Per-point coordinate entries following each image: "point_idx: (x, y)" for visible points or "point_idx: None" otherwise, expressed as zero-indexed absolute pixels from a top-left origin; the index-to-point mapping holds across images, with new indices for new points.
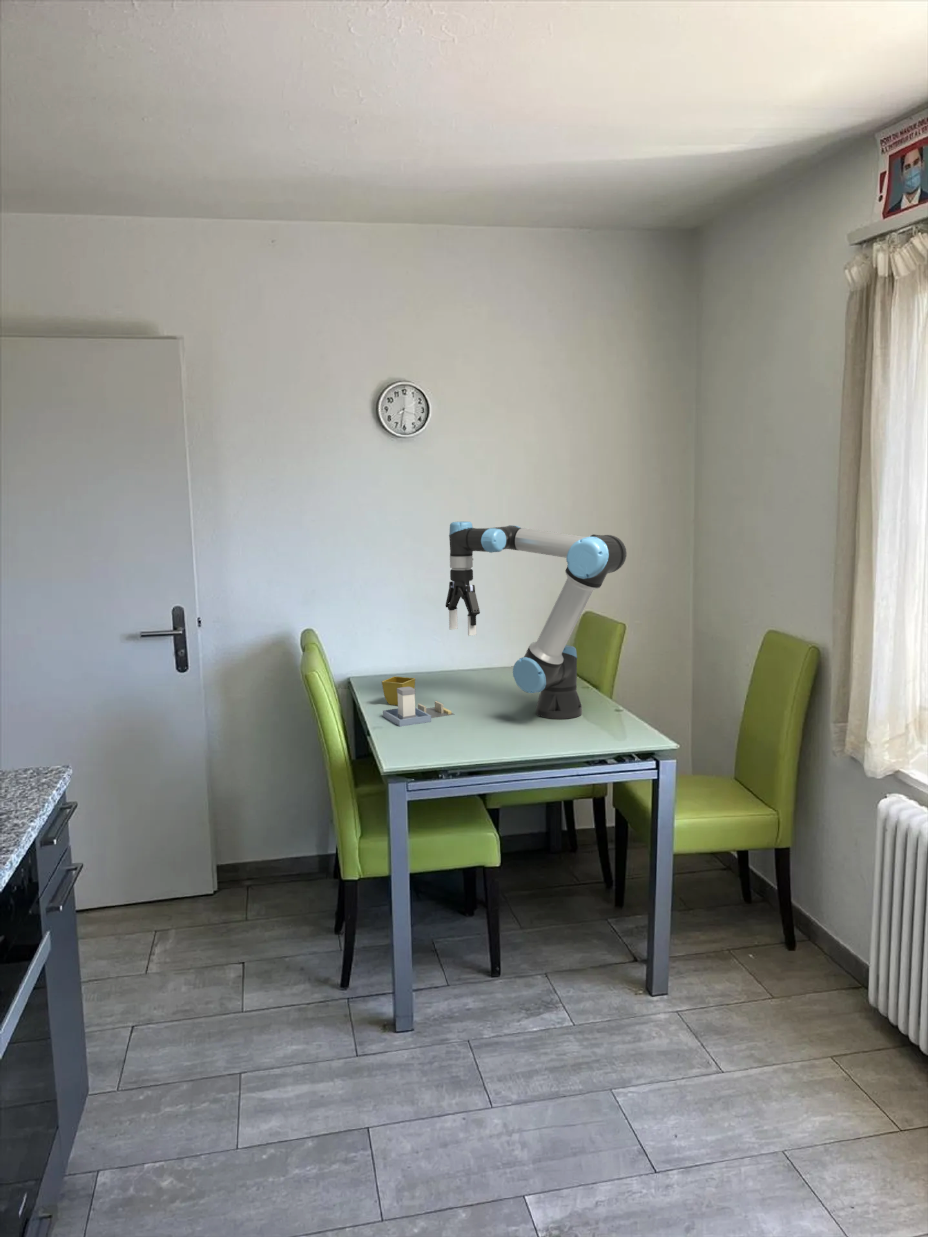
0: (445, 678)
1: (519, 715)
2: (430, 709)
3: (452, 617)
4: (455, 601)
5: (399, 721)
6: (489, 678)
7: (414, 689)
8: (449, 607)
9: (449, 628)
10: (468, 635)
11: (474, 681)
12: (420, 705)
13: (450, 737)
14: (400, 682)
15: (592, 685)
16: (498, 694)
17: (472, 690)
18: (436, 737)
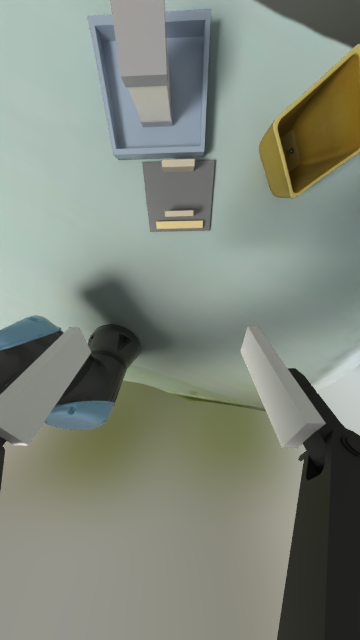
0: (343, 318)
1: (121, 310)
2: (199, 204)
3: (270, 382)
4: (303, 581)
5: (90, 19)
6: (290, 354)
7: (120, 72)
8: (344, 458)
9: (258, 328)
10: (75, 327)
11: (295, 337)
12: (179, 159)
13: (12, 148)
14: (329, 164)
15: (196, 398)
16: (221, 332)
17: (260, 317)
18: (10, 112)
